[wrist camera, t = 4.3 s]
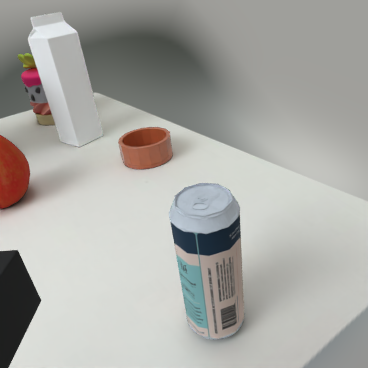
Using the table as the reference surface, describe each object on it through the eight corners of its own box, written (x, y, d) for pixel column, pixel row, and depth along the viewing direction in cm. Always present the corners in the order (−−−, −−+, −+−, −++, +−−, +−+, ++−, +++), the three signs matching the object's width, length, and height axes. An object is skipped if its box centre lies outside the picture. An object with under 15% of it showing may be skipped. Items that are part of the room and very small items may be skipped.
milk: (60, 142, 68) (19, 18, 57) (85, 130, 72) (51, 12, 60) (79, 147, 64) (39, 16, 53) (104, 135, 68) (72, 10, 57)
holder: (183, 152, 57) (180, 132, 55) (146, 174, 52) (142, 152, 50) (149, 142, 62) (145, 123, 60) (113, 161, 57) (108, 141, 56)
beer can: (248, 299, 30) (244, 181, 24) (239, 349, 26) (232, 223, 20) (195, 291, 32) (179, 178, 26) (179, 336, 28) (156, 216, 22)
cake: (56, 109, 87) (36, 46, 80) (91, 109, 84) (73, 43, 76) (26, 125, 79) (1, 56, 72) (64, 126, 75) (41, 54, 68)
